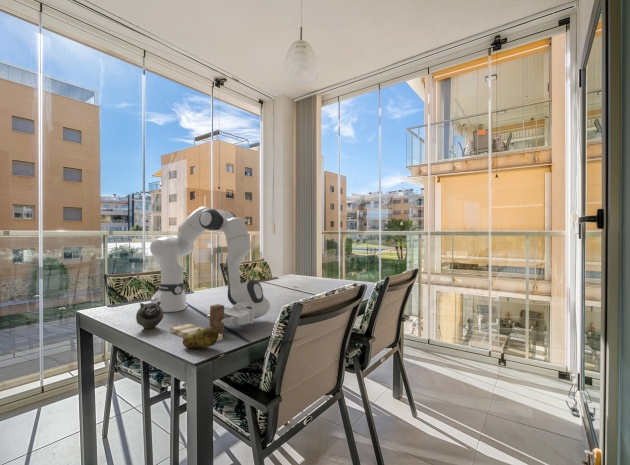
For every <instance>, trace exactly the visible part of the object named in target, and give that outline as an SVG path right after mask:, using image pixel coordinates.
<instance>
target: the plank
mask: <svg viewBox="0 0 630 465" xmlns="http://www.w3.org/2000/svg"><path fill="white" fill-rule="evenodd" d="M199 328H200V330H201V329H204V328H203V327H201V326H197V325H194V324H191V323H189V322H188V323H184V324H179V325H174V326H170V328H169V330H170V333H172V334H174V335H176V336H179V337H182V338H183V339H184V338H185V337H186V336H188V335H191V334H194V333H196V332H197V330H198V329H199ZM218 334H219V333H218ZM223 335H224V334H223ZM223 335H222V334H219V336H218V339H217V341H216V343H217V342H219V341H222V340H223Z"/></svg>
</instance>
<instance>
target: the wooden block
mask: <svg viewBox="0 0 630 465" xmlns="http://www.w3.org/2000/svg"><path fill="white" fill-rule="evenodd" d="M224 307H225V305H222V304H220V303H219V304H213V305H210V306H209V314H210V319H209V327H207V328H213V329H215V330H216V331H217V332H218V333H219V334H222V335H224V334H225V331H224V327H225V326H224V325H225V324H224V323H221V320H222V319H223V318H224ZM199 330H200V328H199V329H198V330H197V332H198V331H199Z"/></svg>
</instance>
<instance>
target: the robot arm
mask: <svg viewBox="0 0 630 465" xmlns="http://www.w3.org/2000/svg"><path fill="white" fill-rule="evenodd" d="M206 230H208V231H212V232H219V233H221V232H222V233H223V234H224V236H225V240H226V245H227V255H226V258H225V259H226V260H225V265H226V266H225V267H226V275H227V284H228V286H227V299H228V301H229V302H230V303H231V305H232V306H231V307H227V306H224V318H223V319H222V320H221V323H224V325H225V324H235V325H238V326H244V325H248V324H249V325H251V324H254V323H255V320H256V319H259V318H261V317H263V316H266V315H267V314H268V313H269V311H270V309H271V303H270V301H269V299H267V298H266V296H265V295H264V291H263V288H262V285H261V283H260V282H258V281H257V280H256V279H249V280H247V281H245V282H242V283H241V274H240V266H241V263H242V262H243V260H244V259H245V258H246V257H247V255H248V254H249V253H250V252H251V251H250V250H251V244H252V243H251V239H250V235H249V234H250V233H249V232H248V229H247V226H246V223H245V221H244V220H243V219H242V218H241V217H237V215H235V214H234V213H232V212H229V211H226V210H223V209H216V208H209V206H205V205H204V206H200V207H198V208H197V209H195V210H194V211H193V212H191V213H190V215H189V214H188V216H187V217H186V218H185V219H184V220H183V221H182V222H181V223H180V224H179V225H178V227H177V231H178V233H177V234H176V235H175V236H162V237H158V238H155V239H153V240H152V241H151V243H150V244H149V245H150V246H149V249H150V253H151V254H152V256H153V257H154V258H156V260H157V262H158V264H159V268H160V283H159V284H158V290H157V292H155V293H154V294H153V295H152V296H151V298H150V303H156V304H157V302H159V301H160V302H161V303H160V305H159V306H160V307H161V308H162V310H163V313H172V312H173V313H175V312H180V311H183V310H185V309H186V308H187V307H188V306H189V305H188V304H187V297H186V291H185V290H184V289H185V282H184V268H183V266H182V265H181V264H179V263H180V262H179V260H178V258H181V257H185V256H188V255H190V254H191V253H192V252H193V251H194V247H195V246H194V243H195V242H196V240H197V239H198V238H199V237H200V236H201V235H202V234H203V233H204V232H205V231H206ZM206 319H207V320H210V313H209V314H207V316H206Z"/></svg>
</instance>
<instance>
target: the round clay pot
mask: <svg viewBox="0 0 630 465" xmlns="http://www.w3.org/2000/svg"><path fill="white" fill-rule="evenodd" d="M139 303H140V304H139V305H140V308H138V310H137V311H136V314H135V315H136V316H135V319H136V320H135V321H136V322H137V324H138V325H139V326H141V327H142V329H141V330H142V331H143V332H142V331H141V332H142V333H155V332H157V331H159V330H161V328H160V327H158V325H159V324H160V323H161V322H162V320H163V319H164V312H163V310H162V308H161V307H160V306H159V305H160V303H161V302H160V301H159V302H157V304H156V303H151V302H150V303H149V302H148V303H142V302H139Z"/></svg>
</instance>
